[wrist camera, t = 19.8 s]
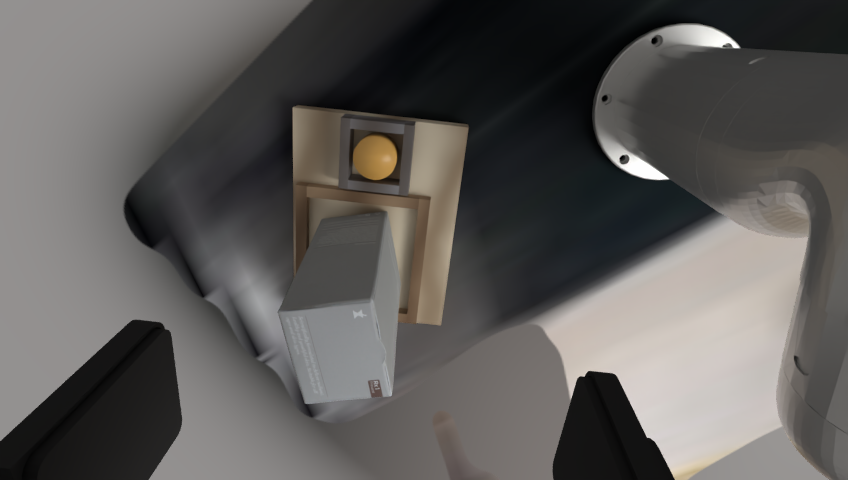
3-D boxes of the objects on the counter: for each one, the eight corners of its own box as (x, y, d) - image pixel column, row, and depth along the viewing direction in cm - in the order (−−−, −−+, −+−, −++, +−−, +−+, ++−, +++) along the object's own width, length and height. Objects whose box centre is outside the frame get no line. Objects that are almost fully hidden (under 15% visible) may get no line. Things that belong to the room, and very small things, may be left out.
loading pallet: (467, 124, 42) (469, 132, 39) (441, 317, 50) (440, 336, 47) (297, 104, 42) (285, 111, 39) (297, 301, 50) (287, 319, 47)
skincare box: (321, 215, 45) (261, 305, 30) (397, 208, 44) (373, 295, 30) (339, 295, 48) (292, 409, 34) (410, 288, 47) (393, 403, 33)
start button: (400, 134, 41) (397, 139, 39) (396, 175, 43) (394, 182, 41) (358, 130, 41) (354, 134, 39) (356, 170, 43) (352, 177, 41)
